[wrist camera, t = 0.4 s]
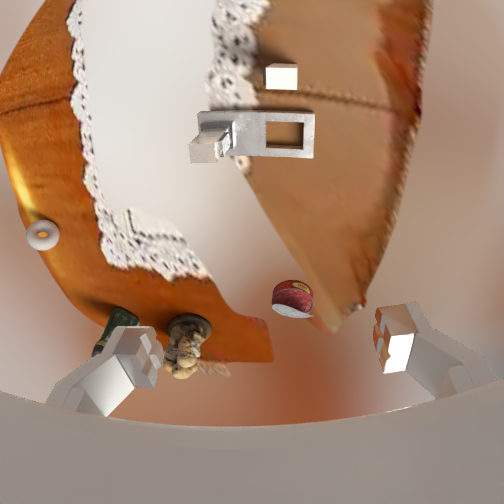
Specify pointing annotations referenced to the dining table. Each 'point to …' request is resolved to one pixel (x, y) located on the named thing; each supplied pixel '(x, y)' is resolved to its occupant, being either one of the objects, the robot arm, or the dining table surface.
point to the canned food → (292, 299)
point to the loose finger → (280, 76)
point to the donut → (38, 241)
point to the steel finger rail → (247, 134)
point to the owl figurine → (185, 344)
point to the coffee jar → (116, 319)
